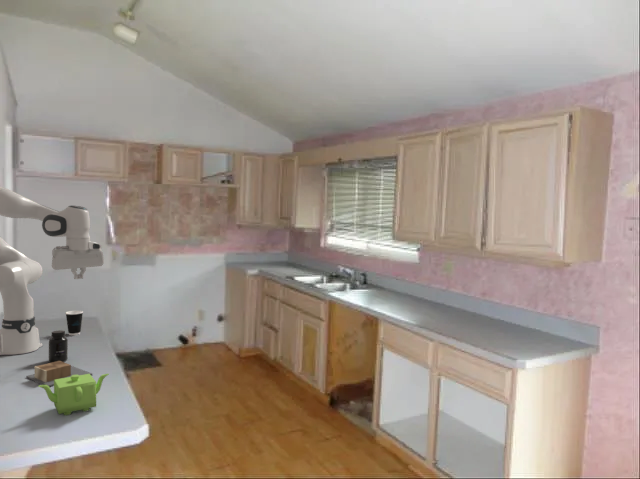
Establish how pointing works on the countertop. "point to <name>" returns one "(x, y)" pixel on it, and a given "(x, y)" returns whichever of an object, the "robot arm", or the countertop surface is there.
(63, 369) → the slab
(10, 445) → the countertop surface
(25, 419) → the countertop surface
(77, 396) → the teapot
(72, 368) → the mat
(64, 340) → the supplement bottle
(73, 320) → the dixie cup
